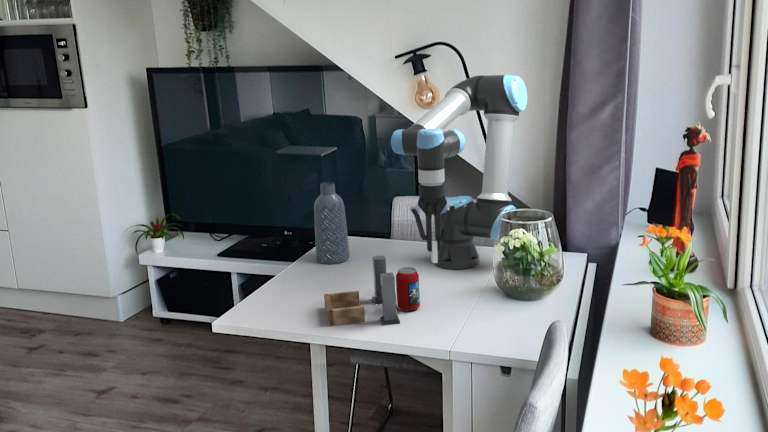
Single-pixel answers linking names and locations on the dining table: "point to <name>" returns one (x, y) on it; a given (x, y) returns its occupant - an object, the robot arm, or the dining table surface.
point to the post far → (378, 277)
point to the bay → (344, 308)
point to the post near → (388, 299)
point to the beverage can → (407, 289)
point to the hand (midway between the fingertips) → (434, 261)
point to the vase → (330, 226)
